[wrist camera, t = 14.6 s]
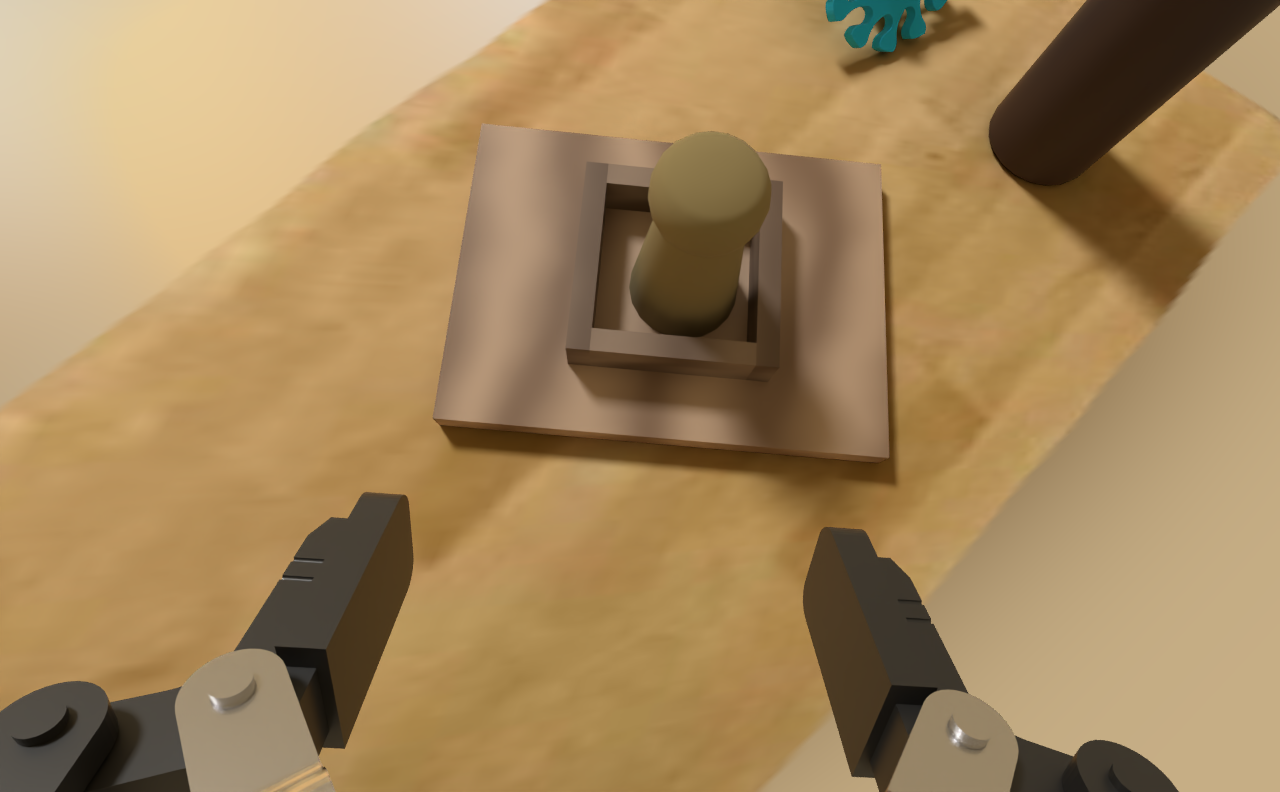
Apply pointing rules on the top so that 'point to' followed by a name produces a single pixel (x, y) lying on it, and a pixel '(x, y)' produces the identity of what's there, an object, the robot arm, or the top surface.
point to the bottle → (1110, 79)
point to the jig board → (627, 346)
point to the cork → (698, 232)
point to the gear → (878, 4)
